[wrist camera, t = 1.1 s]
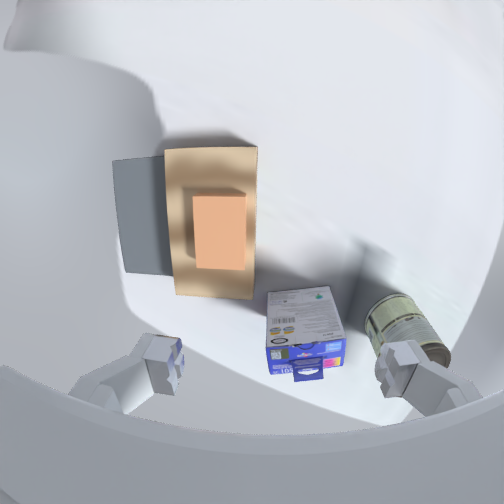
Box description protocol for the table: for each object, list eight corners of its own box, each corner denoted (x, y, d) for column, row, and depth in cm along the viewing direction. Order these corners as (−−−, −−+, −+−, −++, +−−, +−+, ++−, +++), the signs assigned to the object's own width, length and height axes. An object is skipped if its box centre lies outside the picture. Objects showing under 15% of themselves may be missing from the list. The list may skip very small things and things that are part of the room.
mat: (113, 160, 35) (112, 160, 34) (175, 155, 34) (174, 155, 34) (126, 271, 42) (125, 272, 41) (182, 275, 41) (182, 276, 41)
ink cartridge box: (269, 320, 44) (267, 389, 30) (265, 291, 41) (262, 359, 28) (329, 313, 42) (348, 380, 29) (329, 284, 40) (352, 349, 27)
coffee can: (423, 316, 42) (457, 367, 29) (379, 348, 45) (402, 405, 32) (402, 281, 39) (442, 334, 26) (353, 318, 43) (376, 381, 30)
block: (196, 193, 32) (192, 196, 30) (246, 193, 32) (245, 197, 30) (200, 261, 36) (196, 268, 34) (245, 263, 35) (244, 270, 33)
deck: (175, 148, 34) (164, 149, 30) (257, 146, 33) (256, 147, 30) (183, 281, 42) (175, 294, 38) (254, 285, 41) (252, 299, 37)
